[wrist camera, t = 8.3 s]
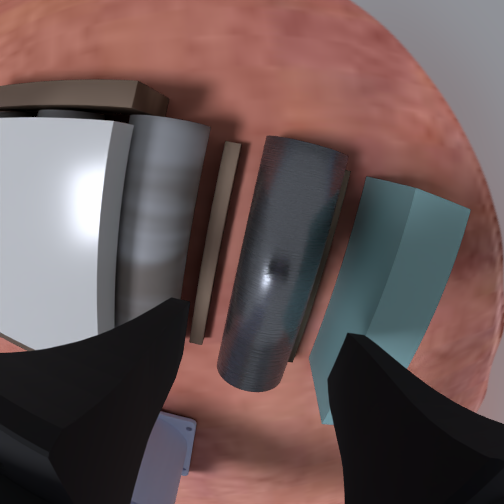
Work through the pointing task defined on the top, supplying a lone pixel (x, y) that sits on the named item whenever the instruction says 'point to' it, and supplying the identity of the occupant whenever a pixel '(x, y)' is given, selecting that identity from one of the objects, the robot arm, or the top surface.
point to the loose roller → (279, 259)
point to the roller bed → (153, 192)
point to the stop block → (389, 275)
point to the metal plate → (59, 227)
